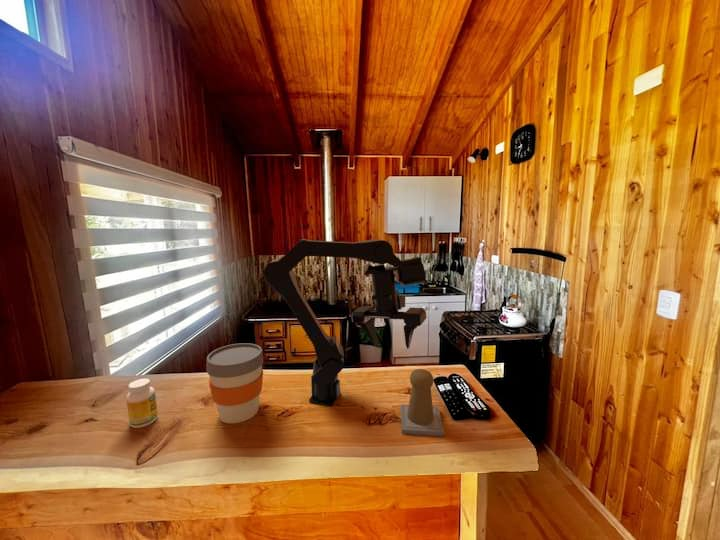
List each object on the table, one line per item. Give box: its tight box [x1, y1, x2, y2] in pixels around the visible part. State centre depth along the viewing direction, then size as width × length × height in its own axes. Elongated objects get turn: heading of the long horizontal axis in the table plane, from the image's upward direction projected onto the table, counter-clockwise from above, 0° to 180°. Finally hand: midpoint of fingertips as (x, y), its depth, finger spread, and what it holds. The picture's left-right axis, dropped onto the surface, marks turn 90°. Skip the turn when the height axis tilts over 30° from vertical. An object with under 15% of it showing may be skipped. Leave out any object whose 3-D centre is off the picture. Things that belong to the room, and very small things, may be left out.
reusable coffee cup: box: [205, 342, 264, 424], centre depth 72 cm, size 12×13×15 cm
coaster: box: [400, 404, 446, 437], centre depth 69 cm, size 9×9×1 cm
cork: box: [407, 368, 434, 425], centre depth 68 cm, size 6×6×11 cm
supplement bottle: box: [125, 378, 159, 429], centre depth 69 cm, size 5×5×10 cm
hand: (391, 346), depth 78 cm, fingers open, 9 cm apart
